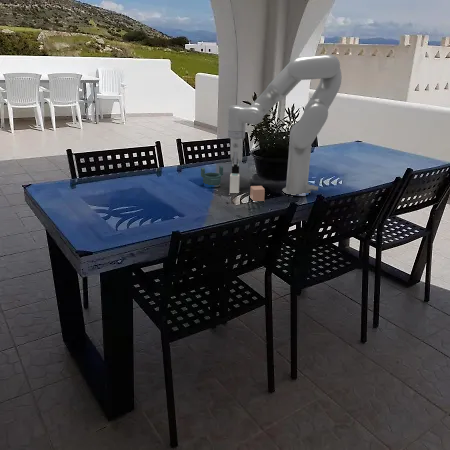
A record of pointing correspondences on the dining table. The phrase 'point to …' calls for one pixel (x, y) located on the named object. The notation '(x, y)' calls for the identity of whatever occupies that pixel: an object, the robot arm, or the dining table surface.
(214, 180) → the green basket
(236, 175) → the cream block
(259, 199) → the terracotta block
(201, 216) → the dining table surface
